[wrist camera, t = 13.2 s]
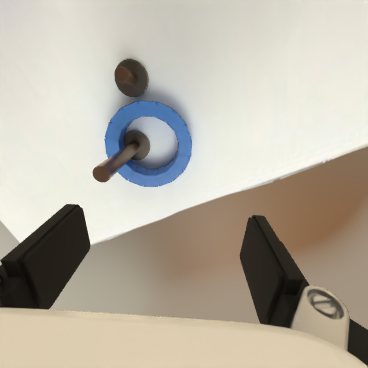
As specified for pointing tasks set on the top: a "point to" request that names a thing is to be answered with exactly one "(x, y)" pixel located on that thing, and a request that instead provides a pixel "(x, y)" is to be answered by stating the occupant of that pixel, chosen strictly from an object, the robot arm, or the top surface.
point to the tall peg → (123, 156)
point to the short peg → (131, 78)
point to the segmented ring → (130, 169)
